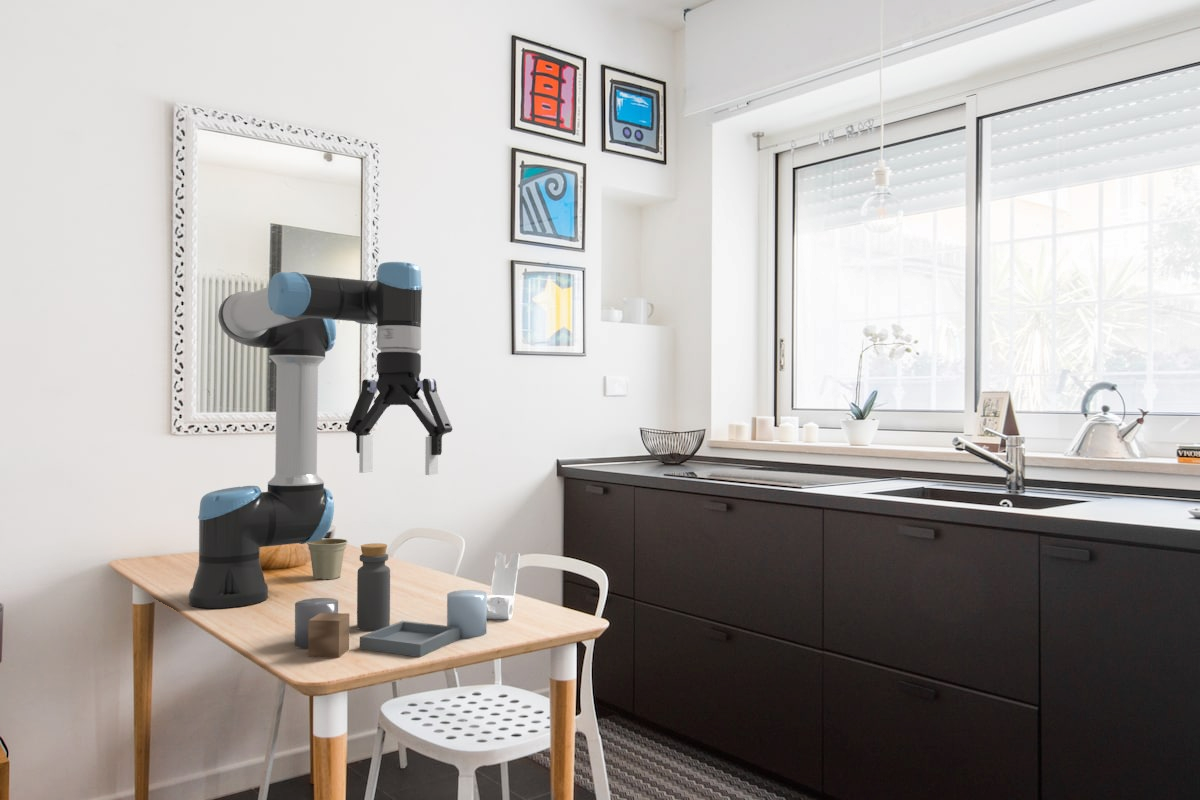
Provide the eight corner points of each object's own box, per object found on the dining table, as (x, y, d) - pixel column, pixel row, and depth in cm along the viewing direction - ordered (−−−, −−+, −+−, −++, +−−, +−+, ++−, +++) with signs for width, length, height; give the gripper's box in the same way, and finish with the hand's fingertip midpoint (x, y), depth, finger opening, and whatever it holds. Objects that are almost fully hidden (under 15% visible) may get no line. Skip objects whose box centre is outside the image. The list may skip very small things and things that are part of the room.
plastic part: (469, 620, 164) (469, 559, 164) (484, 608, 174) (484, 550, 174) (508, 621, 163) (508, 560, 163) (520, 609, 173) (520, 551, 173)
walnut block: (308, 657, 138) (308, 620, 138) (319, 649, 143) (319, 613, 143) (338, 658, 138) (339, 620, 138) (349, 649, 143) (349, 613, 143)
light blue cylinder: (439, 635, 152) (439, 596, 152) (460, 626, 159) (460, 588, 159) (473, 639, 149) (473, 599, 149) (493, 630, 156) (493, 591, 156)
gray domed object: (285, 646, 145) (285, 604, 145) (314, 636, 151) (314, 596, 151) (318, 650, 142) (319, 608, 142) (346, 640, 149) (346, 600, 149)
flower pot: (356, 576, 206) (356, 540, 206) (324, 583, 198) (324, 545, 198) (329, 572, 211) (330, 537, 211) (297, 578, 203) (298, 542, 203)
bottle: (372, 632, 154) (373, 548, 154) (350, 627, 157) (350, 545, 157) (396, 625, 159) (397, 544, 159) (374, 621, 162) (374, 541, 162)
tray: (359, 648, 143) (359, 636, 143) (402, 631, 154) (402, 620, 154) (420, 656, 139) (420, 644, 139) (459, 638, 150) (459, 627, 150)
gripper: (326, 352, 151) (325, 472, 151) (449, 348, 142) (448, 476, 142) (353, 354, 158) (353, 470, 158) (472, 351, 149) (471, 474, 149)
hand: (398, 473), depth 150 cm, fingers open, 13 cm apart
